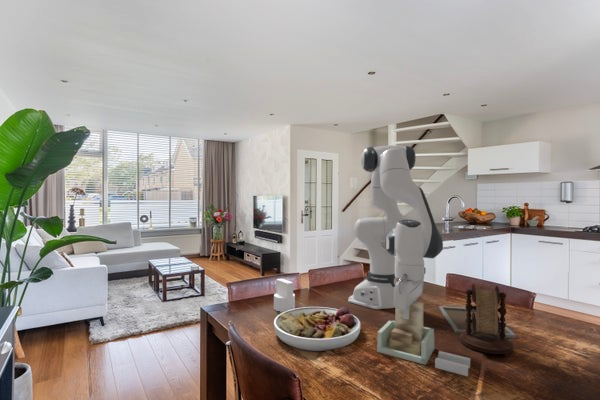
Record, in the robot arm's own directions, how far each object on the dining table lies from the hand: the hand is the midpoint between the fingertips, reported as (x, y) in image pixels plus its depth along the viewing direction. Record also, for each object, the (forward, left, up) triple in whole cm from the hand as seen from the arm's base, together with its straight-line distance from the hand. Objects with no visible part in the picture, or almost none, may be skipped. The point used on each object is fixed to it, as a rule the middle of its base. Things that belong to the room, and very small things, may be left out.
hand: (409, 315), depth 102 cm
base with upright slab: (-55, +9, -11) cm, 57 cm away
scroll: (+20, +15, -11) cm, 27 cm away
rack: (0, -3, -11) cm, 11 cm away
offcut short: (-1, -4, -7) cm, 8 cm away
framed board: (+14, +39, -11) cm, 43 cm away
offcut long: (0, -4, -10) cm, 10 cm away
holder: (+13, -6, -11) cm, 18 cm away
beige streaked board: (0, 0, -10) cm, 10 cm away
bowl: (-30, -6, -11) cm, 33 cm away
